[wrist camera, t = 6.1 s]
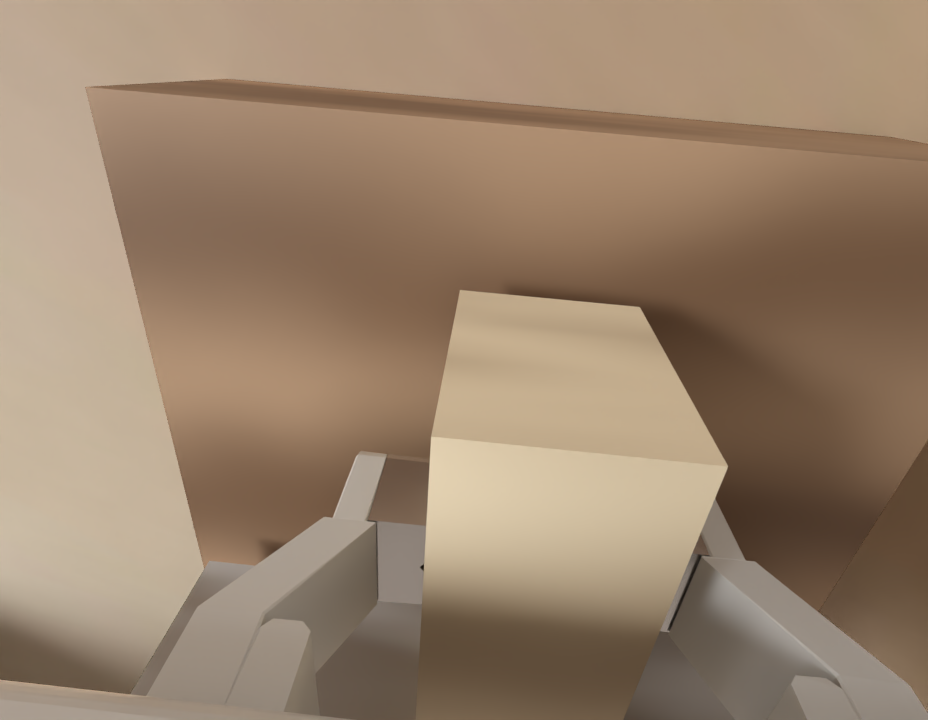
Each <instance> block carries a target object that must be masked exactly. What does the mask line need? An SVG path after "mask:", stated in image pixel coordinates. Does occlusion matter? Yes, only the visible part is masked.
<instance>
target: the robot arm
mask: <svg viewBox="0 0 928 720" xmlns="http://www.w3.org/2000/svg"><path fill="white" fill-rule="evenodd" d="M429 466H430V459H426V458H418V457H410V456H402V455H394V454H389V455H387V454H382V453H374V452H365V451H360V452H359V454H358V455H357V456H356V458H355V461H354V463H353V466H352V468H351V471H350V474H349V476H348V479H347V481H346V484H345V487H344V489H343V492H342V494H341V497H340V500H339V502H338V505H337V507H336V510H335V513H334V515H333V518H330V517H323V518H322V519H320V520H319V521H317V522H316V523H315V524H313V525H312V526H310V527H309V528H308V529H306V530H305V531H303V532H302V533H301V534H299V535H298V536H296V537H295V538H294V539H292V540H291V541H289V542H288V543H286V544H285V545H284V546H282V547H281V548H279V549H278V550H277V551H275V552H274V553H272V554H271V555H270V556H268V557H267V558H265V559H264V560H263V561H261V562H260V563H258V564H257V565H256V566H254V567H253V568H251V569H250V570H248V571H247V572H246V573H244V574H243V575H241V576H240V577H239V578H237V579H236V580H234V581H233V582H232V583H230V584H229V585H227V586H226V587H225V588H223V589H222V590H220V591H219V592H217V593H216V594H215V595H213V596H212V597H210V598H209V599H208V600H206V601H205V602H203V603H202V604H201V605H199V606H198V607H197V608H196V610H195V612H194V613H193V615H192V617H191V619H190V620H189V622H188V624H187V626H186V627H185V629H184V631H183V633H182V634H181V636H180V638H179V640H178V641H177V643H176V645H175V647H174V648H173V650H172V652H171V653H170V655H169V657H168V659H167V660H166V662H165V664H164V666H163V667H162V669H161V671H160V673H159V674H158V676H157V678H156V680H155V681H154V683H153V685H152V687H151V688H150V690H149V692H148V694H147V695H146V696H140V695H131V694H122V693H113V692H105V691H96V690H87V689H78V688H69V687H60V686H51V685H43V684H34V683H25V682H16V681H7V680H0V720H352V719H343V718H334V717H326V716H320V712H319V703H318V694H317V685H316V676H315V674H316V672H317V671H318V670H319V669H320V668H321V667H322V666H323V665H324V663H325V662H326V661H327V660H328V659H329V658H330V657H331V656H332V655H333V653H334V652H335V651H336V650H337V649H338V648H339V647H340V646H341V644H342V643H343V642H344V641H345V640H346V639H347V638H348V637H349V635H350V634H351V633H352V632H353V631H354V630H355V629H356V628H357V626H358V625H359V624H360V623H361V622H362V621H363V620H364V619H365V617H366V616H367V615H368V614H369V613H370V612H371V611H372V610H373V608H374V607H375V606H376V605H377V601H383V602H395V603H408V604H421V605H422V595H423V577H424V558H425V540H426V521H427V503H428V485H429ZM660 631H662V632H669V634H668V635H669V636H670V638H671V639H672V640H673V642H674V643H675V644H676V645H677V647H678V648H679V649H680V651H681V652H682V653H683V654H684V656H685V657H686V658H687V659H688V661H689V662H690V663H691V665H692V666H693V667H694V668H695V670H696V671H697V672H698V673H699V675H700V676H701V677H702V679H703V680H704V681H705V682H706V684H707V685H708V686H709V687H710V689H711V690H712V691H713V693H714V694H715V695H716V696H717V698H718V699H719V700H720V701H721V703H722V704H723V705H724V707H725V708H726V709H727V710H728V712H729V713H730V714H731V715H732V717H733V718H734V719H735V720H928V713H927V711H926V710H925V708H924V706H923V705H922V703H921V702H920V700H919V699H918V697H917V696H916V694H915V693H914V691H913V690H912V688H911V687H910V685H909V684H907V683H906V682H905V681H904V680H902V679H901V678H900V677H899V676H897V675H896V674H895V673H894V672H892V671H891V670H890V669H889V668H887V667H886V666H885V665H884V664H882V663H881V662H880V661H879V660H877V659H876V658H875V657H874V656H872V655H871V654H870V653H869V652H867V651H866V650H865V649H864V648H862V647H861V646H860V645H859V644H857V643H856V642H855V641H854V640H852V639H851V638H850V637H849V636H847V635H846V634H845V633H844V632H842V631H841V630H840V629H839V628H837V627H836V626H835V625H834V624H832V623H831V622H830V621H829V620H827V619H826V618H825V617H824V616H822V615H821V614H820V613H819V612H817V611H816V610H815V609H814V608H812V607H811V606H810V605H809V604H807V603H806V602H805V601H804V600H802V599H801V598H800V597H799V596H797V595H796V594H795V593H794V592H792V591H791V590H790V589H789V588H787V587H786V586H785V585H784V584H782V583H781V582H780V581H779V580H777V579H776V578H775V577H774V576H772V575H771V574H770V573H769V572H767V571H766V570H765V569H764V568H762V567H761V566H760V565H759V564H757V563H756V562H755V561H746V560H745V558H744V556H743V554H742V552H741V550H740V548H739V546H738V544H737V542H736V540H735V538H734V536H733V534H732V532H731V530H730V528H729V526H728V524H727V522H726V520H725V518H724V515H723V513H722V511H721V509H720V507H719V505H718V503H717V501H716V499H715V500H714V502H713V505H712V507H711V509H710V512H709V514H708V517H707V519H706V521H705V524H704V526H703V529H702V531H701V533H700V536H699V538H698V541H697V543H696V546H695V548H694V550H693V553H692V555H691V558H690V560H689V562H688V565H687V567H686V570H685V572H684V574H683V577H682V579H681V582H680V584H679V587H678V589H677V591H676V594H675V596H674V599H673V601H672V603H671V606H670V608H669V611H668V613H667V615H666V618H665V620H664V623H663V625H662V628H661V630H660Z"/></svg>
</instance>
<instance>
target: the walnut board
mask: <svg viewBox="0 0 928 720" xmlns="http://www.w3.org/2000/svg"><path fill="white" fill-rule="evenodd" d="M85 88H86V92H87V96H88V101H89V105H90V109H91V113H92V117H93V121H94V125H95V129H96V133H97V137H98V141H99V145H100V149H101V153H102V157H103V161H104V165H105V169H106V173H107V177H108V181H109V185H110V189H111V193H112V197H113V202H114V206H115V210H116V214H117V218H118V222H119V226H120V230H121V234H122V238H123V242H124V246H125V250H126V254H127V258H128V262H129V266H130V270H131V274H132V278H133V282H134V286H135V290H136V294H137V298H138V303H139V307H140V311H141V315H142V319H143V323H144V327H145V331H146V335H147V339H148V343H149V347H150V351H151V355H152V359H153V363H154V367H155V371H156V375H157V379H158V383H159V387H160V391H161V395H162V399H163V403H164V408H165V412H166V416H167V420H168V424H169V428H170V432H171V436H172V440H173V444H174V448H175V452H176V456H177V460H178V464H179V468H180V472H181V476H182V480H183V484H184V488H185V492H186V496H187V500H188V504H189V509H190V513H191V517H192V521H193V525H194V529H195V533H196V537H197V541H198V545H199V549H200V553H201V557H202V561H203V565H204V569H205V567H206V566H207V564H208V562H209V561H216V562H225V563H234V564H244V565H253V566H256V565H257V564H258V563H260V562H261V561H263V560H264V559H265V558H267V557H268V556H270V555H271V554H272V553H274V552H275V551H277V550H278V549H279V548H281V547H282V546H284V545H285V544H286V543H288V542H289V541H291V540H292V539H294V538H295V537H296V536H298V535H299V534H301V533H302V532H303V531H305V530H306V529H308V528H309V527H310V526H312V525H313V524H315V523H316V522H317V521H319V520H320V519H322V518H323V517H330V518H333V515H334V513H335V510H336V507H337V505H338V502H339V500H340V497H341V494H342V492H343V489H344V487H345V484H346V481H347V479H348V476H349V474H350V471H351V468H352V466H353V463H354V461H355V458H356V456H357V455H358V454H359V452H360V451H365V452H374V453H382V454H387V455H389V454H394V455H402V456H410V457H418V458H426V459H430V448H431V435H432V430H433V424H434V419H435V414H436V409H437V404H438V399H439V394H440V389H441V384H442V379H443V374H444V369H445V364H446V359H447V354H448V348H449V343H450V338H451V333H452V328H453V323H454V318H455V313H456V308H457V303H458V298H459V293H460V290H465V291H476V292H487V293H497V294H508V295H518V296H529V297H539V298H550V299H560V300H571V301H582V302H592V303H603V304H613V305H624V306H634V307H640V308H641V310H642V312H643V314H644V316H645V317H646V319H647V321H648V323H649V325H650V326H651V328H652V330H653V332H654V334H655V335H656V337H657V339H658V341H659V343H660V344H661V346H662V348H663V350H664V352H665V353H666V355H667V357H668V359H669V361H670V362H671V364H672V366H673V368H674V370H675V371H676V373H677V375H678V377H679V379H680V380H681V382H682V384H683V386H684V388H685V389H686V391H687V393H688V395H689V397H690V399H691V400H692V402H693V404H694V406H695V408H696V409H697V411H698V413H699V415H700V417H701V418H702V420H703V422H704V424H705V426H706V427H707V429H708V431H709V433H710V435H711V436H712V438H713V440H714V442H715V444H716V445H717V447H718V449H719V451H720V453H721V454H722V456H723V458H724V460H725V462H726V463H727V465H728V468H727V471H726V473H725V476H724V478H723V480H722V483H721V485H720V488H719V490H718V492H717V495H716V497H715V499H716V501H717V503H718V505H719V507H720V509H721V511H722V513H723V515H724V518H725V520H726V522H727V524H728V526H729V528H730V530H731V532H732V534H733V536H734V538H735V540H736V542H737V544H738V546H739V548H740V550H741V552H742V554H743V556H744V558H745V560H746V561H755V562H756V563H757V564H759V565H760V566H761V567H762V568H764V569H765V570H766V571H767V572H769V573H770V574H771V575H772V576H774V577H775V578H776V579H777V580H779V581H780V582H781V583H782V584H784V585H785V586H786V587H787V588H789V589H790V590H791V591H792V592H794V593H795V594H796V595H797V596H799V597H800V598H801V599H802V600H804V601H805V602H806V603H807V604H809V605H810V606H811V607H812V608H814V609H815V610H816V611H817V612H819V610H820V609H821V607H822V605H823V604H824V602H825V601H826V599H827V598H828V596H829V594H830V593H831V591H832V590H833V588H834V587H835V585H836V583H837V582H838V580H839V579H840V577H841V576H842V574H843V572H844V571H845V569H846V568H847V566H848V565H849V563H850V561H851V560H852V558H853V557H854V555H855V554H856V552H857V550H858V549H859V547H860V546H861V544H862V543H863V541H864V539H865V538H866V536H867V535H868V533H869V532H870V530H871V528H872V527H873V525H874V524H875V522H876V521H877V519H878V517H879V516H880V514H881V513H882V511H883V510H884V508H885V506H886V505H887V503H888V502H889V500H890V499H891V497H892V495H893V494H894V492H895V491H896V489H897V488H898V486H899V484H900V483H901V481H902V480H903V478H904V477H905V475H906V473H907V472H908V470H909V469H910V467H911V466H912V464H913V462H914V461H915V459H916V458H917V456H918V455H919V453H920V451H921V450H922V448H923V447H924V445H925V444H926V442H927V440H928V144H924V143H919V142H914V141H909V140H904V139H898V138H893V137H884V136H872V135H861V134H849V133H838V132H827V131H815V130H804V129H792V128H781V127H769V126H758V125H747V124H735V123H724V122H712V121H701V120H689V119H678V118H666V117H655V116H644V115H632V114H621V113H609V112H598V111H586V110H575V109H564V108H552V107H541V106H529V105H518V104H506V103H495V102H484V101H472V100H461V99H449V98H438V97H426V96H415V95H404V94H392V93H381V92H369V91H358V90H346V89H335V88H324V87H312V86H301V85H289V84H278V83H266V82H255V81H244V80H232V79H219V80H201V81H183V82H166V83H148V84H130V85H113V86H95V87H85Z"/></svg>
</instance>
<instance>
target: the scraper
mask: <svg viewBox="0 0 928 720" xmlns="http://www.w3.org/2000/svg"><path fill="white" fill-rule="evenodd" d="M727 468H728V465H727V463H726V462H725V460H724V458H723V456H722V454H721V453H720V451H719V449H718V447H717V445H716V444H715V442H714V440H713V438H712V436H711V435H710V433H709V431H708V429H707V427H706V426H705V424H704V422H703V420H702V418H701V417H700V415H699V413H698V411H697V409H696V408H695V406H694V404H693V402H692V400H691V399H690V397H689V395H688V393H687V391H686V389H685V388H684V386H683V384H682V382H681V380H680V379H679V377H678V375H677V373H676V371H675V370H674V368H673V366H672V364H671V362H670V361H669V359H668V357H667V355H666V353H665V352H664V350H663V348H662V346H661V344H660V343H659V341H658V339H657V337H656V335H655V334H654V332H653V330H652V328H651V326H650V325H649V323H648V321H647V319H646V317H645V316H644V314H643V312H642V310H641V308H640V307H634V306H624V305H613V304H603V303H592V302H582V301H571V300H560V299H550V298H539V297H529V296H518V295H508V294H497V293H487V292H476V291H465V290H460V293H459V298H458V303H457V308H456V313H455V318H454V323H453V328H452V333H451V338H450V343H449V348H448V354H447V359H446V364H445V369H444V374H443V379H442V384H441V389H440V394H439V399H438V404H437V409H436V414H435V419H434V424H433V430H432V435H431V448H430V466H429V485H428V503H427V521H426V540H425V558H424V577H423V595H422V605H421V604H408V603H395V602H383V601H377V605H376V606H375V607H374V608H373V610H372V611H371V612H370V613H369V614H368V615H367V616H366V617H365V619H364V620H363V621H362V622H361V623H360V624H359V625H358V626H357V628H356V629H355V630H354V631H353V632H352V633H351V634H350V635H349V637H348V638H347V639H346V640H345V641H344V642H343V643H342V644H341V646H340V647H339V648H338V649H337V650H336V651H335V652H334V653H333V655H332V656H331V657H330V658H329V659H328V660H327V661H326V662H325V663H324V665H323V666H322V667H321V668H320V669H319V670H318V671H317V672H316V674H315V676H316V685H317V694H318V703H319V712H320V716H326V717H334V718H343V719H352V720H735V719H734V718H733V717H732V715H731V714H730V713H729V712H728V710H727V709H726V708H725V707H724V705H723V704H722V703H721V701H720V700H719V699H718V698H717V696H716V695H715V694H714V693H713V691H712V690H711V689H710V687H709V686H708V685H707V684H706V682H705V681H704V680H703V679H702V677H701V676H700V675H699V673H698V672H697V671H696V670H695V668H694V667H693V666H692V665H691V663H690V662H689V661H688V659H687V658H686V657H685V656H684V654H683V653H682V652H681V651H680V649H679V648H678V647H677V645H676V644H675V643H674V642H673V640H672V639H671V638H670V636H669V635H668V634H669V632H662V631H660V630H661V628H662V625H663V623H664V620H665V618H666V615H667V613H668V611H669V608H670V606H671V603H672V601H673V599H674V596H675V594H676V591H677V589H678V587H679V584H680V582H681V579H682V577H683V574H684V572H685V570H686V567H687V565H688V562H689V560H690V558H691V555H692V553H693V550H694V548H695V546H696V543H697V541H698V538H699V536H700V533H701V531H702V529H703V526H704V524H705V521H706V519H707V517H708V514H709V512H710V509H711V507H712V505H713V502H714V500H715V497H716V495H717V492H718V490H719V488H720V485H721V483H722V480H723V478H724V476H725V473H726V471H727ZM253 567H254V566H253V565H244V564H234V563H225V562H216V561H209V562H208V564H207V566H206V567H205V569H204V571H203V572H202V574H201V576H200V577H199V579H198V581H197V582H196V584H195V586H194V587H193V589H192V591H191V592H190V594H189V596H188V597H187V599H186V601H185V603H184V604H183V606H182V608H181V609H180V611H179V613H178V614H177V616H176V618H175V619H174V621H173V623H172V624H171V626H170V628H169V629H168V631H167V633H166V635H165V636H164V638H163V640H162V641H161V643H160V645H159V646H158V648H157V650H156V651H155V653H154V655H153V656H152V658H151V660H150V661H149V663H148V665H147V667H146V668H145V670H144V672H143V673H142V675H141V677H140V678H139V680H138V682H137V683H136V685H135V687H134V688H133V690H132V692H131V693H130V694H131V695H140V696H146V695H147V694H148V692H149V690H150V688H151V687H152V685H153V683H154V681H155V680H156V678H157V676H158V674H159V673H160V671H161V669H162V667H163V666H164V664H165V662H166V660H167V659H168V657H169V655H170V653H171V652H172V650H173V648H174V647H175V645H176V643H177V641H178V640H179V638H180V636H181V634H182V633H183V631H184V629H185V627H186V626H187V624H188V622H189V620H190V619H191V617H192V615H193V613H194V612H195V610H196V608H197V607H198V606H199V605H201V604H202V603H203V602H205V601H206V600H208V599H209V598H210V597H212V596H213V595H215V594H216V593H217V592H219V591H220V590H222V589H223V588H225V587H226V586H227V585H229V584H230V583H232V582H233V581H234V580H236V579H237V578H239V577H240V576H241V575H243V574H244V573H246V572H247V571H248V570H250V569H251V568H253Z"/></svg>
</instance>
